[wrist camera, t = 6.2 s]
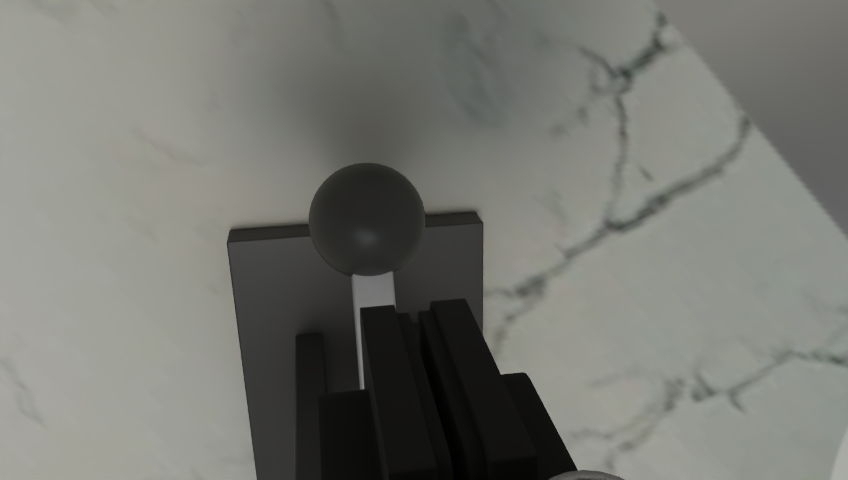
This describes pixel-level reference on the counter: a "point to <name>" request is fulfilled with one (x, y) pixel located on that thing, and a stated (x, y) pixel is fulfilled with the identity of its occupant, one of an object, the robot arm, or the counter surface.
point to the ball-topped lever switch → (367, 232)
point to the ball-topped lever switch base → (325, 326)
